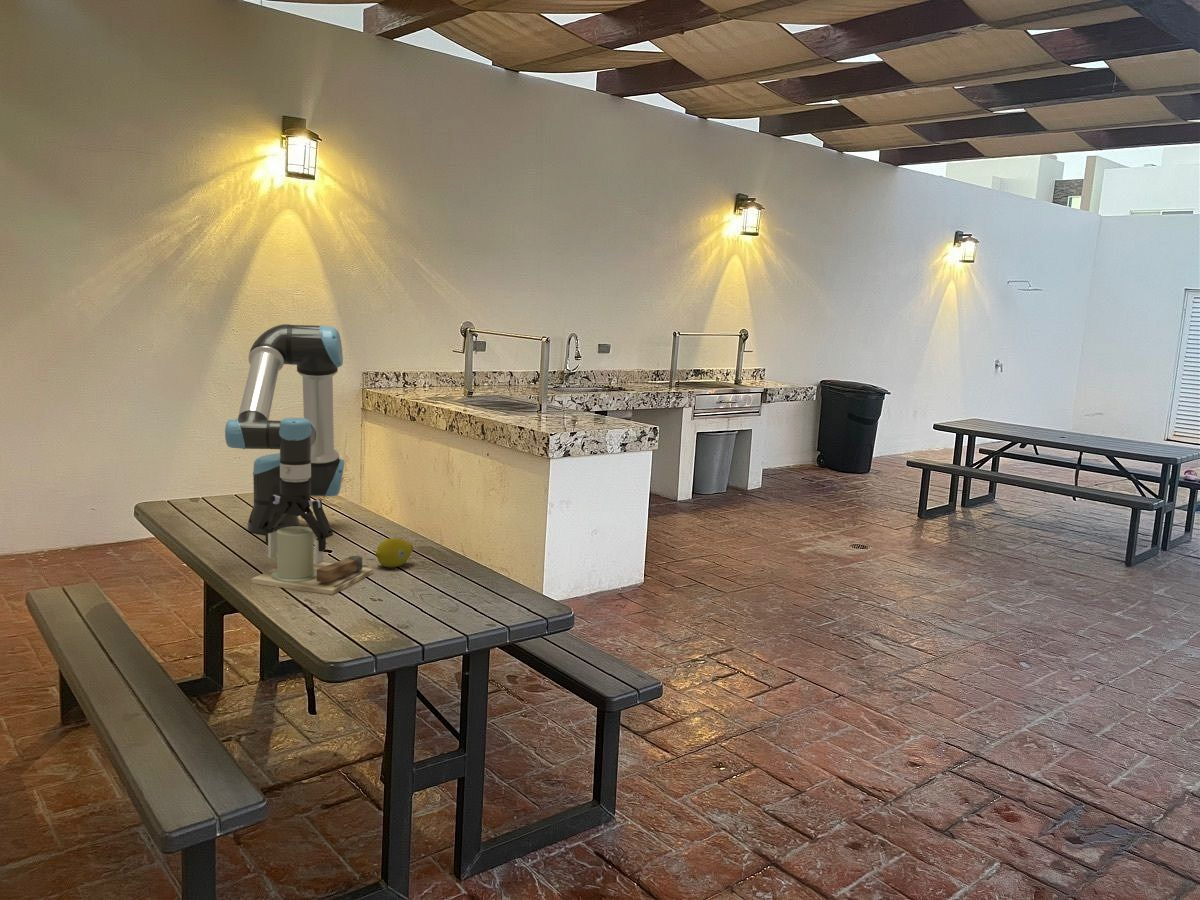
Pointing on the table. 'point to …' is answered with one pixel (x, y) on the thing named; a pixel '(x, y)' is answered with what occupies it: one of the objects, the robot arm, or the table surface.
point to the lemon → (393, 552)
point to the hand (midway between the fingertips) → (295, 560)
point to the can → (295, 552)
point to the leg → (339, 569)
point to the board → (312, 580)
